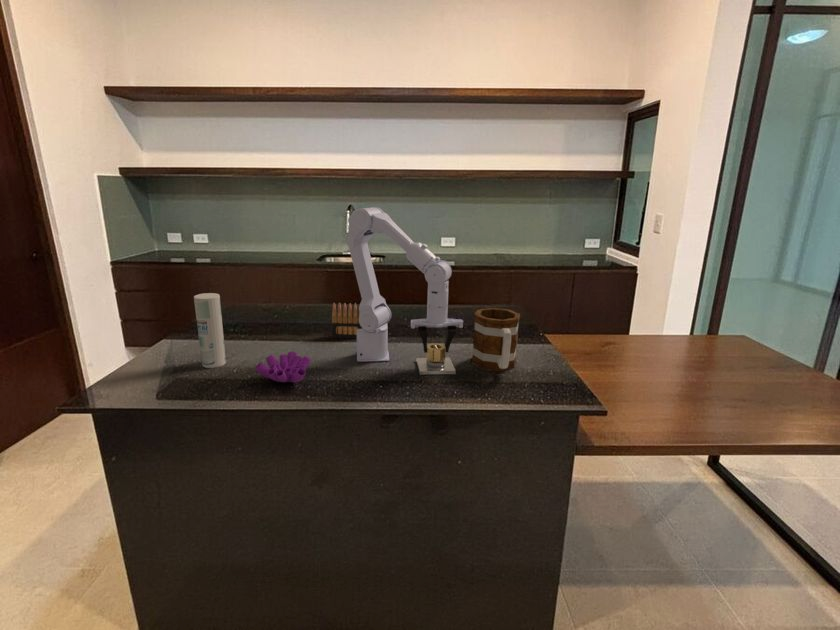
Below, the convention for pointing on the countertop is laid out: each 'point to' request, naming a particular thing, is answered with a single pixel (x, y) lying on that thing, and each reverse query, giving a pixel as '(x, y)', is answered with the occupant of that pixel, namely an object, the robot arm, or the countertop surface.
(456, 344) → the countertop surface
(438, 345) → the brass ring
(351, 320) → the ammunition clip
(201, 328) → the spray can
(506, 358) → the mug
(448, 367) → the piston stand
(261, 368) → the purple tube coral
